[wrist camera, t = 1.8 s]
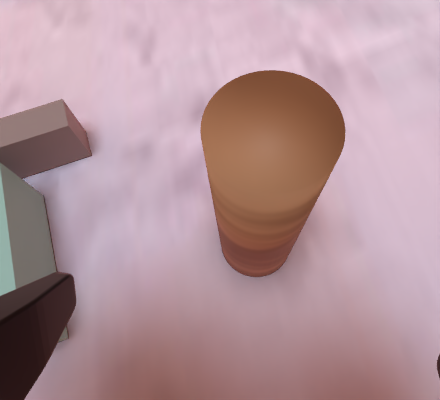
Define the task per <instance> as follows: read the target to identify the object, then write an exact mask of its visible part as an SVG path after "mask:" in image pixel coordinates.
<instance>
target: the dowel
mask: <svg viewBox="0 0 440 400" xmlns="http://www.w3.org/2000/svg"><path fill="white" fill-rule="evenodd" d="M201 140H202V145H203V151H204V156H205V161H206V167H207V172H208V177H209V183H210V188H211V193H212V199H213V204H214V209H215V215H216V220H217V225H218V231H219V236H220V241H221V247H222V251H223V254H224V257H225V259H226V261H227V262H228V263H229V265H230V266H231V267H232V268H234V269H235V270H236V271H238V272H239V273H241V274H244V275H247V276H252V277H261V276H266V275H269V274H271V273H273V272H275V271H276V270H278V269H279V268H280V267H281V266H282V265H283V263H284V262H285V260H286V259H287V257H288V255H289V253H290V251H291V249H292V247H293V245H294V243H295V241H296V239H297V237H298V236H299V234H300V232H301V230H302V228H303V226H304V224H305V222H306V220H307V218H308V216H309V214H310V212H311V211H312V209H313V207H314V205H315V203H316V201H317V199H318V197H319V195H320V193H321V191H322V189H323V187H324V186H325V184H326V182H327V180H328V178H329V176H330V174H331V172H332V170H333V168H334V166H335V164H336V162H337V161H338V159H339V157H340V155H341V152H342V149H343V146H344V141H345V124H344V120H343V116H342V113H341V111H340V109H339V107H338V105H337V104H336V102H335V100H334V99H333V98H332V97H331V96H330V94H329V93H328V92H326V91H325V90H324V89H323V88H322V87H321V86H319V85H318V84H317V83H315V82H313V81H311V80H310V79H308V78H305V77H303V76H301V75H297V74H294V73H290V72H285V71H276V70H269V71H258V72H253V73H249V74H246V75H243V76H240V77H238V78H236V79H234V80H232V81H230V82H229V83H227V84H226V85H224V86H223V87H222V88H221V89H219V90H218V91H217V92H216V94H215V95H214V96H213V97H212V98H211V100H210V101H209V103H208V105H207V106H206V108H205V111H204V114H203V117H202V121H201Z"/></svg>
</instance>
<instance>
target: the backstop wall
mask: <svg viewBox="0 0 440 400" xmlns="http://www.w3.org/2000/svg"><path fill="white" fill-rule="evenodd" d="M89 156H92V155H91V151H90V147H89V143H88V139H87V135H86V131H85V130H84V128H83V127H82V126H81V124H80V123H79V122H78V120H77V119H76V117H75V116H74V115H73V113H72V112H71V110H70V109H69V108H68V106H67V105H66V103H65V102H64V101H63V99H61V100H58V101H55V102H51V103H48V104H45V105H42V106H39V107H36V108H32V109H29V110H26V111H23V112H20V113H16V114H13V115H10V116H7V117H4V118H0V163H1V164H3V165H4V166H5V167H7V168H8V169H9V170H11V171H12V172H13V173H15V174H16V175H17V176H18V177H20V178H21V179H22V178H25V177H28V176H31V175H34V174H37V173H40V172H43V171H46V170H49V169H52V168H55V167H58V166H61V165H64V164H67V163H70V162H73V161H76V160H79V159H82V158H86V157H89Z"/></svg>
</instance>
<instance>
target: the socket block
mask: <svg viewBox="0 0 440 400" xmlns="http://www.w3.org/2000/svg"><path fill="white" fill-rule="evenodd" d="M54 272H57V271H56V265H55V260H54V254H53V248H52V242H51V237H50V231H49V225H48V220H47V214H46V208H45V203H44V197H43V195H42V194H41V193H39V192H38V191H37V190H35V189H34V188H33V187H31V186H30V185H29V184H28V183H26V182H25V181H24V180H22V179H21V178H20V177H18V176H17V175H16V174H15V173H13V172H12V171H11V170H9V169H8V168H7V167H5V166H4V165H3V164H1V163H0V296H1V295H3V294H6V293H8V292H10V291H13V290H15V289H17V288H20V287H22V286H24V285H26V284H29V283H31V282H33V281H36V280H38V279H40V278H43V277H45V276H47V275H50V274H52V273H54ZM66 339H68V333H67V328H66V327H65V329H64V331H63V333H62V335H61V337H60V339H59V341H58V342H60V341H63V340H66Z"/></svg>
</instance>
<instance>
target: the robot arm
mask: <svg viewBox="0 0 440 400" xmlns="http://www.w3.org/2000/svg"><path fill="white" fill-rule="evenodd" d="M75 306H76V294H75V285H74V278H73V276H72V275H71V274H68V273H62V272H54V273H52V274H50V275H47V276H45V277H43V278H40V279H38V280H36V281H33V282H31V283H29V284H26V285H24V286H22V287H20V288H17V289H15V290H13V291H10V292H8V293H6V294H3V295H1V296H0V400H24V399H25V397H26V396H27V394H28V393H29V391H30V390H31V388H32V386H33V385H34V383H35V382H36V380H37V379H38V377H39V375H40V374H41V372H42V371H43V369H44V367H45V366H46V364H47V362H48V360H49V358H50V357H51V355H52V353H53V351H54V349H55V347H56V345H57V343H58V341H59V339H60V337H61V335H62V333H63V331H64V329H65V327H66V325H67V323H68V321H69V319H70V317H71V315H72V313H73V311H74V309H75ZM437 370H438V374H439V378H440V355H439V357H438V360H437Z"/></svg>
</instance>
